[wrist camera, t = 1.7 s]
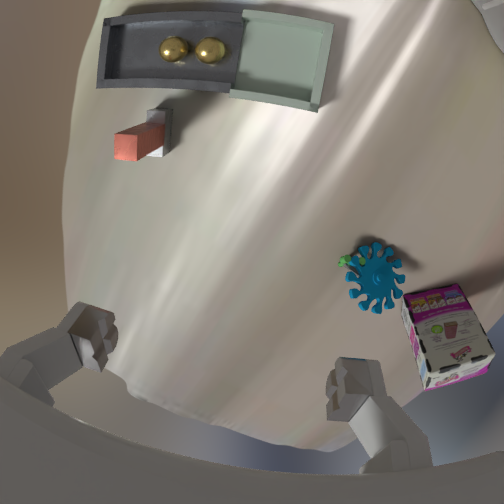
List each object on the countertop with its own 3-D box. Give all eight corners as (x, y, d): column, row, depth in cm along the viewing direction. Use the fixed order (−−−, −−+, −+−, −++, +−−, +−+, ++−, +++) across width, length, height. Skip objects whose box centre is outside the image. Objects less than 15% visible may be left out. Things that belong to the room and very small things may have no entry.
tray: (247, 14, 27) (243, 9, 25) (331, 28, 27) (334, 23, 25) (233, 96, 33) (228, 97, 31) (315, 110, 33) (317, 112, 31)
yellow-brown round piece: (167, 37, 29) (155, 34, 26) (193, 37, 29) (184, 33, 26) (163, 63, 31) (151, 62, 28) (190, 63, 31) (180, 62, 28)
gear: (416, 266, 40) (390, 326, 38) (393, 271, 46) (368, 325, 44) (363, 222, 40) (331, 284, 37) (344, 232, 46) (313, 287, 43)
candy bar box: (400, 315, 48) (422, 393, 34) (401, 294, 45) (428, 373, 32) (455, 304, 45) (487, 374, 31) (459, 282, 43) (497, 353, 29)
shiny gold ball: (201, 37, 29) (192, 33, 26) (230, 39, 29) (224, 35, 26) (197, 64, 31) (188, 62, 28) (226, 66, 31) (219, 64, 28)
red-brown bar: (154, 108, 35) (114, 119, 27) (173, 109, 35) (138, 120, 27) (151, 150, 38) (114, 172, 30) (170, 152, 38) (136, 175, 30)
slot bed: (115, 21, 28) (104, 18, 26) (246, 18, 28) (242, 13, 25) (108, 86, 34) (96, 88, 31) (234, 92, 33) (229, 93, 31)
